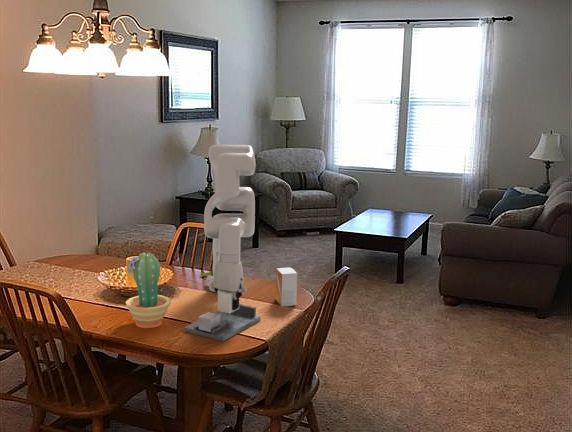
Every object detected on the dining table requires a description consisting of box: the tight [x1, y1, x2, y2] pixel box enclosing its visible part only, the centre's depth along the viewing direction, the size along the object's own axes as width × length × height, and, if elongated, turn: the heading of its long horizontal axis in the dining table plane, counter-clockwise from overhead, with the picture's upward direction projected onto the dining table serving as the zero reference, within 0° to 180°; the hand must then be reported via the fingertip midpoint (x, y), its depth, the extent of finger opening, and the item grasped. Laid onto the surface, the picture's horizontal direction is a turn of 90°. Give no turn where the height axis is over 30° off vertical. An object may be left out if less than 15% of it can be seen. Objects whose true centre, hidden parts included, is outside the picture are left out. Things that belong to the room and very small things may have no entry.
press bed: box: [184, 303, 261, 342], centre depth 218 cm, size 16×23×4 cm
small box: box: [275, 267, 298, 307], centre depth 243 cm, size 8×6×13 cm
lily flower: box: [199, 267, 213, 280], centre depth 274 cm, size 12×12×5 cm
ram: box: [198, 311, 221, 332], centre depth 211 cm, size 5×8×4 cm, turn 151°
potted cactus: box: [125, 252, 172, 329], centre depth 216 cm, size 15×15×25 cm
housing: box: [217, 290, 239, 314], centre depth 219 cm, size 5×6×8 cm
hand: (228, 307), depth 219 cm, fingers closed on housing, 5 cm apart
